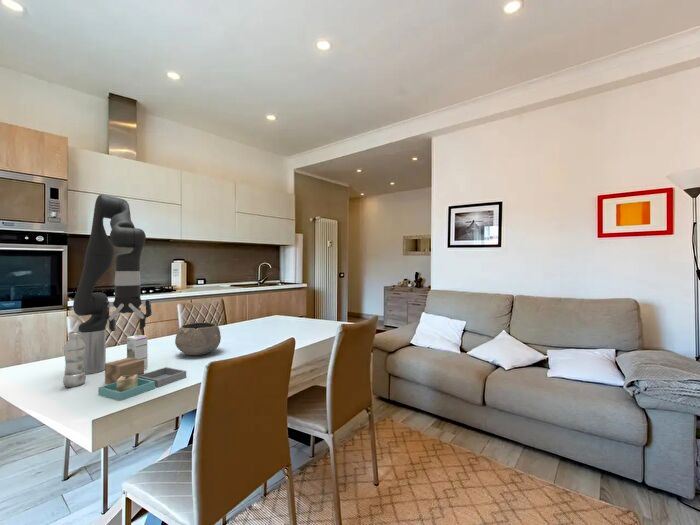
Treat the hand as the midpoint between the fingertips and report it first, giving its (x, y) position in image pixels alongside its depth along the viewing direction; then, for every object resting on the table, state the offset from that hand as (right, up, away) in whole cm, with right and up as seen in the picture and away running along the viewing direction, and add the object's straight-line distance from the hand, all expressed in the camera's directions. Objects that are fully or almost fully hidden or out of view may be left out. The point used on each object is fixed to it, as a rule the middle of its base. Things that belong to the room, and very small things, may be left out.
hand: (127, 330), depth 116 cm
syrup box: (-13, -23, +26) cm, 37 cm away
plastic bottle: (-24, -22, +7) cm, 34 cm away
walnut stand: (-8, -22, +10) cm, 26 cm away
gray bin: (+5, -22, +12) cm, 26 cm away
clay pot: (+2, -23, +51) cm, 56 cm away
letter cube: (0, -22, 0) cm, 22 cm away
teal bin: (0, -22, 0) cm, 22 cm away
